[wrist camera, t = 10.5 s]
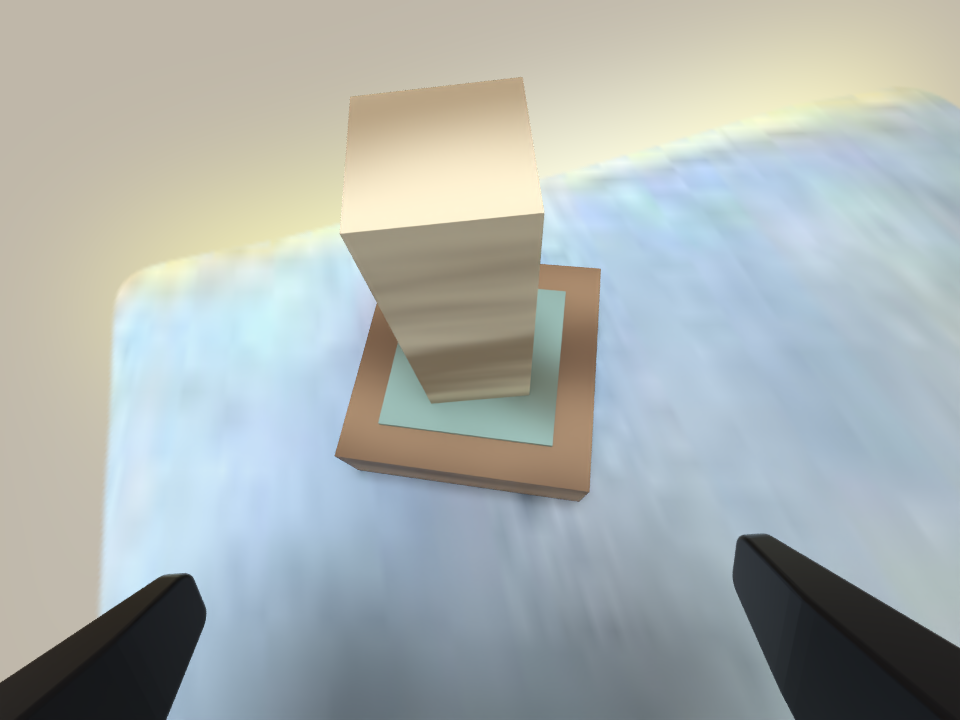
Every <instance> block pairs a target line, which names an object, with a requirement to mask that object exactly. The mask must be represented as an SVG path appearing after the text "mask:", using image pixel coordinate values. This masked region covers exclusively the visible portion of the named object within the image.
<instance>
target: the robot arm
mask: <svg viewBox="0 0 960 720" xmlns="http://www.w3.org/2000/svg"><path fill="white" fill-rule="evenodd" d="M733 583H734V587H735V590H736V592H737V594H738V597H739V599H740V601H741V604H742V606H743V608H744V610H745V613H746V615H747V617H748V619H749V622H750V624H751V626H752V629H753V631H754V633H755V635H756V638H757V640H758V642H759V644H760V647H761V649H762V651H763V654H764V656H765V658H766V660H767V663H768V665H769V667H770V669H771V672H772V674H773V676H774V678H775V681H776V683H777V685H778V687H779V689H780V691H781V693H782V695H783V697H784V699H785V701H786V703H787V705H788V707H789V709H790V711H791V713H792V714H793V716H794V718H795V720H960V648H959V647H957V646H956V645H954V644H952V643H951V642H949V641H947V640H946V639H944V638H942V637H941V636H939V635H937V634H936V633H934V632H932V631H930V630H929V629H927V628H925V627H924V626H922V625H920V624H919V623H917V622H915V621H914V620H912V619H910V618H909V617H907V616H905V615H904V614H902V613H900V612H898V611H897V610H895V609H893V608H892V607H890V606H888V605H887V604H885V603H883V602H882V601H880V600H878V599H877V598H875V597H873V596H872V595H870V594H868V593H866V592H865V591H863V590H861V589H860V588H858V587H856V586H855V585H853V584H851V583H850V582H848V581H846V580H845V579H843V578H841V577H840V576H838V575H836V574H835V573H833V572H831V571H829V570H828V569H826V568H824V567H823V566H821V565H819V564H818V563H816V562H814V561H813V560H811V559H809V558H808V557H806V556H804V555H803V554H801V553H799V552H797V551H796V550H794V549H792V548H791V547H789V546H787V545H786V544H784V543H782V542H781V541H779V540H777V539H776V538H774V537H772V536H770V535H768V534H747V535H742V536H740V537H739V538H738V540H737V543H736V550H735V558H734V565H733ZM205 620H206V607H205V604H204V602H203V600H202V597H201V595H200V592H199V590H198V587H197V585H196V583H195V580H194V578H193V577H192V576H191V575H190V574H187V573H179V574H167V575H163V576H161V577H159V578H157V579H156V580H154V581H153V582H151V583H150V584H148V585H147V586H145V587H144V588H142V589H141V590H139V591H138V592H136V593H135V594H133V595H132V596H130V597H129V598H127V599H126V600H124V601H123V602H121V603H120V604H118V605H117V606H115V607H114V608H112V609H111V610H109V611H108V612H106V613H105V614H103V615H102V616H100V617H99V618H97V619H95V620H94V621H92V622H91V623H89V624H88V625H86V626H85V627H83V628H82V629H80V630H79V631H77V632H76V633H74V634H73V635H71V636H70V637H68V638H67V639H65V640H64V641H63V642H61V643H59V644H58V645H56V646H55V647H54V648H52V649H50V650H49V651H47V652H46V653H44V654H43V655H41V656H40V657H38V658H37V659H35V660H34V661H32V662H31V663H29V664H28V665H26V666H25V667H23V668H22V669H20V670H19V671H17V672H16V673H15V674H13V675H11V676H10V677H8V678H7V679H5V680H4V681H2V682H1V683H0V720H166V719H167V716H168V714H169V712H170V709H171V707H172V704H173V702H174V699H175V697H176V694H177V692H178V689H179V687H180V684H181V682H182V680H183V677H184V675H185V672H186V670H187V667H188V665H189V662H190V660H191V657H192V655H193V652H194V650H195V647H196V645H197V642H198V640H199V637H200V635H201V632H202V630H203V627H204V624H205Z"/></svg>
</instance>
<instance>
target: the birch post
mask: <svg viewBox="0 0 960 720" xmlns="http://www.w3.org/2000/svg"><path fill="white" fill-rule="evenodd" d="M543 222H544V208H543V202H542V196H541V189H540V183H539V177H538V171H537V165H536V158H535V152H534V146H533V140H532V134H531V127H530V122H529V115H528V109H527V102H526V96H525V91H524V84H523V78H522V77H518V78H510V79H501V80H493V81H484V82H475V83H466V84H457V85H448V86H440V87H431V88H422V89H414V90H405V91H396V92H388V93H379V94H370V95H362V96H353V97H350V107H349V121H348V133H347V147H346V160H345V174H344V186H343V200H342V214H341V225H340V235H341V237H342V239H343V241H344V242H345V244H346V246H347V248H348V250H349V252H350V254H351V255H352V257H353V259H354V261H355V263H356V265H357V267H358V268H359V270H360V272H361V274H362V276H363V278H364V280H365V281H366V283H367V285H368V287H369V289H370V291H371V293H372V294H373V296H374V298H375V300H376V302H377V304H378V306H379V307H380V309H381V311H382V313H383V315H384V317H385V319H386V320H387V322H388V324H389V326H390V328H391V330H392V332H393V333H394V335H395V337H396V339H397V341H398V343H399V345H400V347H401V348H402V350H403V352H404V354H405V356H406V358H407V360H408V361H409V363H410V365H411V367H412V369H413V371H414V373H415V374H416V376H417V378H418V380H419V382H420V384H421V386H422V387H423V389H424V391H425V393H426V395H427V397H428V399H429V400H430V402H431V404H434V403H445V402H457V401H468V400H480V399H491V398H502V397H514V396H525V395H529V392H530V380H531V368H532V356H533V344H534V332H535V319H536V307H537V295H538V283H539V271H540V259H541V246H542V234H543Z"/></svg>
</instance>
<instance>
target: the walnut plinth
mask: <svg viewBox="0 0 960 720" xmlns="http://www.w3.org/2000/svg"><path fill="white" fill-rule="evenodd" d="M600 274H601V269H596V268H584V267H571V266H559V265H546V264H540V271H539V283H538V295H537V307H536V319H535V332H534V344H533V356H532V368H531V380H530V392H529V395H525V396H514V397H502V398H491V399H480V400H468V401H457V402H445V403H434V404H431V402H430V400H429V399H428V397H427V395H426V393H425V391H424V389H423V387H422V386H421V384H420V382H419V380H418V378H417V376H416V374H415V373H414V371H413V369H412V367H411V365H410V363H409V361H408V360H407V358H406V356H405V354H404V352H403V350H402V348H401V347H400V345H399V343H398V341H397V339H396V337H395V335H394V333H393V332H392V330H391V328H390V326H389V324H388V322H387V320H386V319H385V317H384V315H383V313H382V311H381V309H380V307H379V306H378V304H377V305H376V308H375V312H374V316H373V319H372V323H371V326H370V330H369V334H368V337H367V341H366V344H365V348H364V352H363V355H362V359H361V363H360V366H359V370H358V373H357V377H356V381H355V384H354V388H353V391H352V395H351V399H350V402H349V406H348V410H347V413H346V417H345V420H344V424H343V428H342V431H341V435H340V439H339V442H338V446H337V449H336V453H335V457H337V458H339V459H340V460H342V461H344V462H346V463H347V464H349V465H351V466H353V467H354V468H356V469H358V470H363V471H370V472H377V473H384V474H391V475H398V476H404V477H411V478H418V479H425V480H432V481H439V482H446V483H453V484H460V485H467V486H474V487H481V488H488V489H495V490H502V491H509V492H516V493H523V494H530V495H537V496H544V497H551V498H558V499H565V500H572V501H578V502H579V501H580V500H581V499H582V498H583V497H584V496H585V495H587V494H588V493H589V488H590V469H591V449H592V430H593V410H594V391H595V372H596V352H597V333H598V313H599V294H600Z"/></svg>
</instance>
